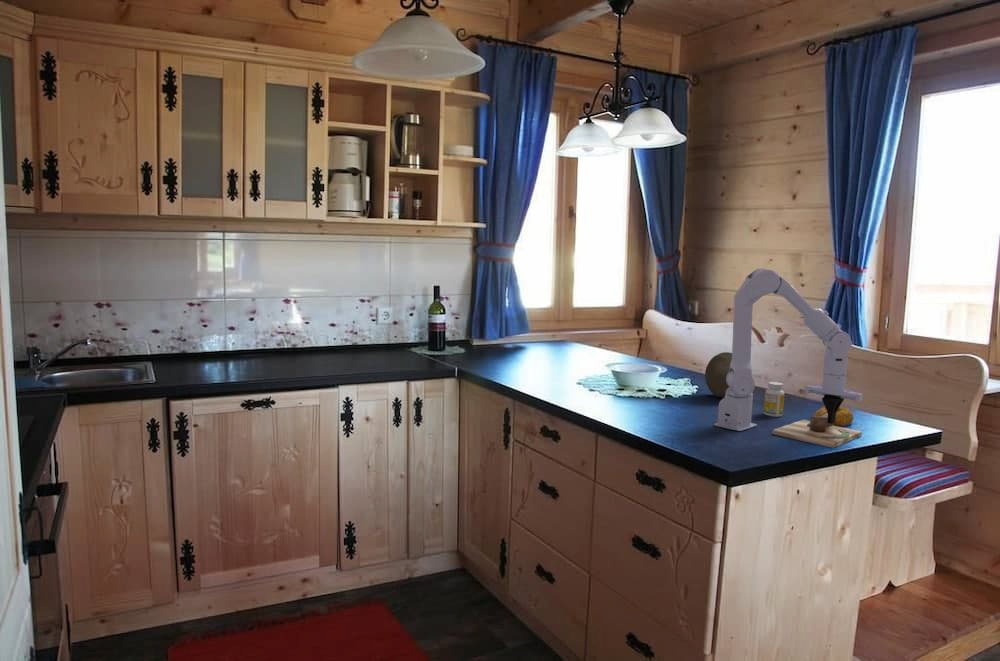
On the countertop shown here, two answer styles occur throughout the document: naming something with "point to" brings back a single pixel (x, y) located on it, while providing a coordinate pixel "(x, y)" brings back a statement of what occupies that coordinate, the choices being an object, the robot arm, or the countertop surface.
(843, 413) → the bagel
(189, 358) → the countertop surface
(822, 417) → the brown elongated piece
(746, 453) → the countertop surface
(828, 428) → the board
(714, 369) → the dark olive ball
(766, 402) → the supplement bottle
